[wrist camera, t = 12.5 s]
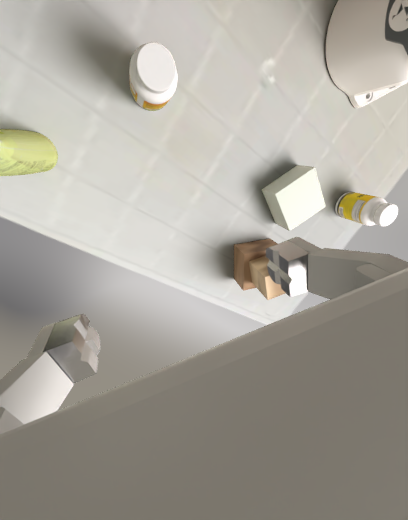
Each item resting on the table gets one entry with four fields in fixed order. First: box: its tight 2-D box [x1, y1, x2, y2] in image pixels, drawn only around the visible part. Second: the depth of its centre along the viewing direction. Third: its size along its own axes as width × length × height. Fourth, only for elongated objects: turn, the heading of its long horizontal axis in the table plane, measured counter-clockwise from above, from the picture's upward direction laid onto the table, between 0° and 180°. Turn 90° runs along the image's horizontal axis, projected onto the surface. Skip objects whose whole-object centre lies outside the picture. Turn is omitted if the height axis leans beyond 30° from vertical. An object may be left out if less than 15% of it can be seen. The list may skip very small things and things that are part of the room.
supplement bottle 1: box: [129, 42, 178, 111], centre depth 28 cm, size 5×5×10 cm
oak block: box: [249, 255, 285, 300], centre depth 42 cm, size 5×5×6 cm
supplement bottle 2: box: [335, 192, 398, 226], centre depth 45 cm, size 5×5×10 cm
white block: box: [262, 165, 326, 231], centre depth 43 cm, size 8×8×5 cm
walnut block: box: [234, 239, 277, 290], centre depth 47 cm, size 8×8×5 cm
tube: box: [0, 129, 58, 176], centre depth 23 cm, size 6×5×20 cm
